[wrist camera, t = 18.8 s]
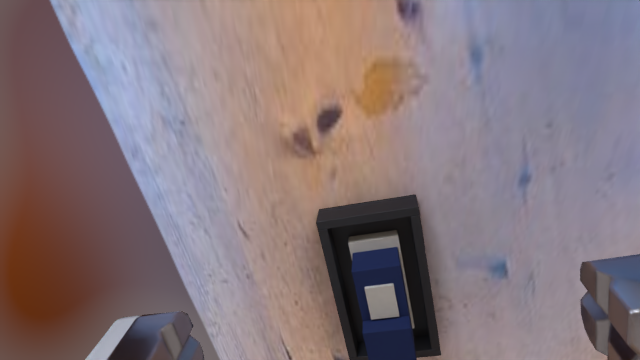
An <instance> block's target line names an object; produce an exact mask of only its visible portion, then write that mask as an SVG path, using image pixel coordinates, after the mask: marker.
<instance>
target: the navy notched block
mask: <svg viewBox="0 0 640 360" xmlns="http://www.w3.org/2000/svg"><path fill="white" fill-rule="evenodd" d="M348 245H349V249H350V254H351V258H352V276H353V280H354V285H355V289H356V294H357V298H358V303H359V307H360V311H361V316H362V320H363V331H362V334H363V338H364V342H365V347H366V351H367V355H368V360H417V359H416V351H415V344H414V337H413V330H412V328H414V320H413V315H412V309H411V303H410V298H409V292H408V287H407V281H406V275H405V270H404V264H403V258H402V253H401V247H400V242H399V236H398V231H397V230H392V231H385V232H378V233H371V234H364V235H358V236H351V237H349V239H348Z"/></svg>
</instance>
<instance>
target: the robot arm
mask: <svg viewBox="0 0 640 360" xmlns="http://www.w3.org/2000/svg"><path fill="white" fill-rule="evenodd" d="M580 281H581V282H582V284H583V285H584V286H585V288H586V289H587V292H586V294H585V295H584V296H583V297H582V299H581V316H582V320H583V324H584V328H585V330H586V333H587V335H588V337H589V340H590V341H591V343H592V344H593V346H594V348H595V349H596V350H597V351H599V352H601V353H603V354H604V355H606V356H608V360H640V254H637V255H630V256H623V257H615V258H608V259H601V260H593V261H586V262H582V265H581V268H580ZM192 328H193V324H192V322H191V320H190V318H189V315H188V314H187V313H185V312H183V311H179V312H168V313H159V314H149V315H142V316H131V317H123V318H120V319H118V320H116V321H115V322H114V324H113V325H112V326H111V327H110V329H109V330H108V331H107V332H106V334H105V335H104V336H103V338H102V339H101V340H100V341H99V343H98V344H97V345H96V347H95V348H94V349H93V351H92V352H91V353H90V354H89V356H88V357H87V358H86V360H204V355H203V350H202V347H201V345H200V342H199V341H197V340H196V339H195V338H193V337H192V336H191V335H190V333H191V331H192Z"/></svg>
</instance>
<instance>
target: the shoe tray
mask: <svg viewBox="0 0 640 360" xmlns="http://www.w3.org/2000/svg"><path fill="white" fill-rule="evenodd" d="M316 224H317V228H318V232H319V236H320V240H321V244H322V248H323V252H324V256H325V261H326V265H327V269H328V273H329V277H330V281H331V285H332V289H333V293H334V297H335V302H336V306H337V310H338V314H339V318H340V322H341V326H342V330H343V334H344V338H345V343H346V347H347V351H348V355H349V359H350V360H368V355H367V351H366V347H365V342H364V338H363V334H362V331H363V320H362V316H361V311H360V307H359V303H358V298H357V294H356V289H355V285H354V280H353V276H352V258H351V254H350V249H349V245H348V239H349V237H351V236H358V235H364V234H371V233H378V232H385V231H392V230H397V231H398V236H399V242H400V247H401V253H402V258H403V264H404V270H405V275H406V281H407V287H408V292H409V298H410V303H411V309H412V315H413V320H414V328H412V330H413V337H414V344H415V351H416V358H418V357H429V356H439V355H441V351H440V344H439V338H438V331H437V325H436V318H435V311H434V305H433V298H432V292H431V285H430V279H429V272H428V266H427V259H426V253H425V246H424V239H423V233H422V226H421V220H420V213H419V207H418V203H417V199H416V195H409V196H402V197H396V198H390V199H383V200H377V201H370V202H364V203H358V204H351V205H345V206H338V207H332V208H326V209H319V212H318V216H317V221H316Z"/></svg>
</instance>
